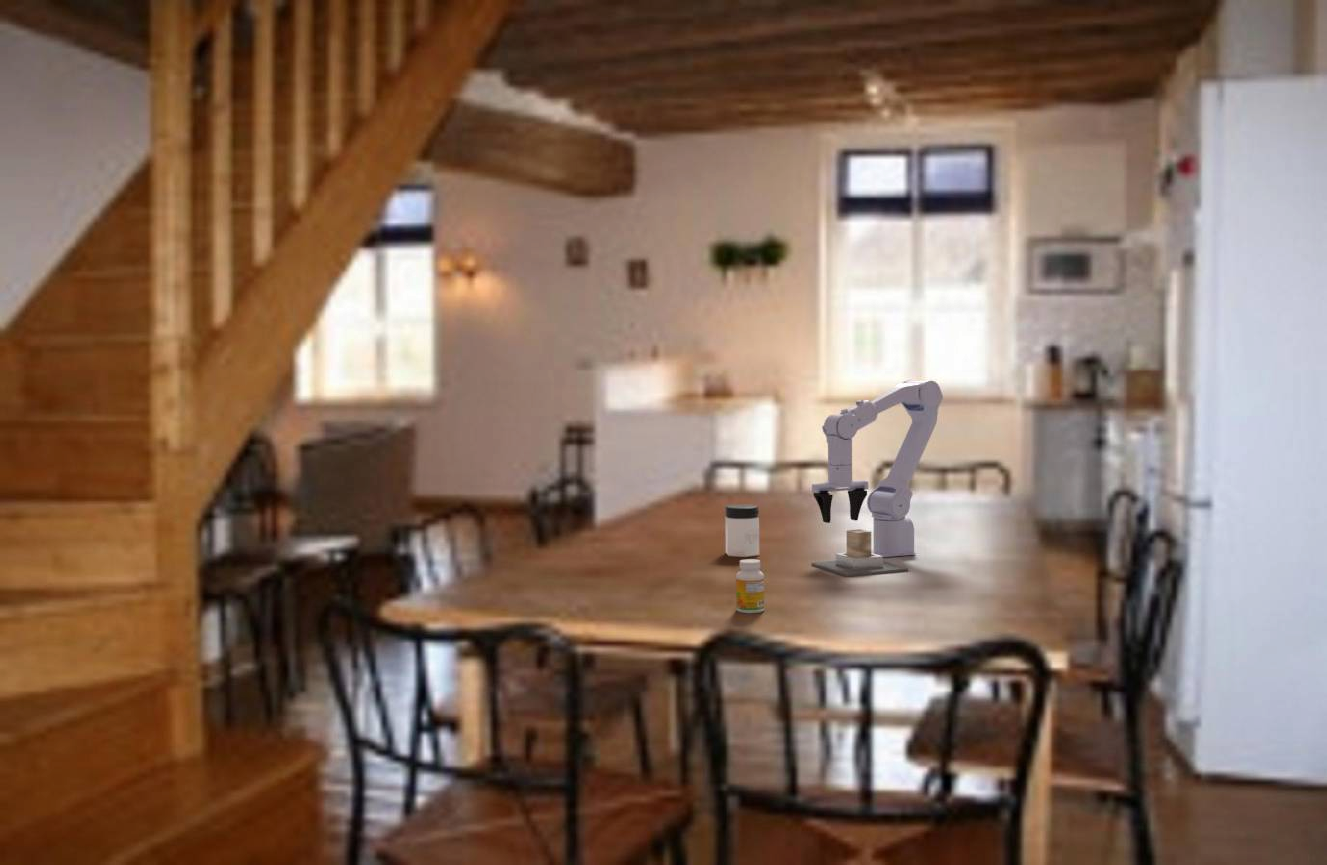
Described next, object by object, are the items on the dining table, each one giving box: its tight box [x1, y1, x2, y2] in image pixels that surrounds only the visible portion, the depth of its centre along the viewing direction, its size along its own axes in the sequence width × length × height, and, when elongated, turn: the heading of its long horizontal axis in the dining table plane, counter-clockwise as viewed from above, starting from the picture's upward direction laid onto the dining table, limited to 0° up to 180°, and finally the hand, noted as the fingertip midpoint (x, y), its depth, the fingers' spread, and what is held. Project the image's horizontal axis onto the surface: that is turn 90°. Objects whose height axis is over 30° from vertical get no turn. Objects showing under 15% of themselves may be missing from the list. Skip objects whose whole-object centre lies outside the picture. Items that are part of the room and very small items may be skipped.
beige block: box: [846, 529, 872, 558], centre depth 268 cm, size 4×4×8 cm
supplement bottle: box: [735, 558, 765, 614], centre depth 225 cm, size 5×5×10 cm
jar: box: [724, 503, 760, 558], centre depth 289 cm, size 9×8×12 cm
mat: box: [811, 560, 909, 578], centre depth 268 cm, size 16×16×1 cm
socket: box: [835, 552, 884, 570], centre depth 268 cm, size 8×8×2 cm
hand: (840, 521), depth 279 cm, fingers open, 7 cm apart
